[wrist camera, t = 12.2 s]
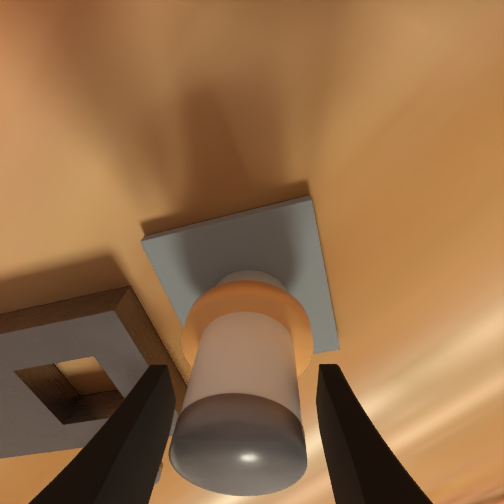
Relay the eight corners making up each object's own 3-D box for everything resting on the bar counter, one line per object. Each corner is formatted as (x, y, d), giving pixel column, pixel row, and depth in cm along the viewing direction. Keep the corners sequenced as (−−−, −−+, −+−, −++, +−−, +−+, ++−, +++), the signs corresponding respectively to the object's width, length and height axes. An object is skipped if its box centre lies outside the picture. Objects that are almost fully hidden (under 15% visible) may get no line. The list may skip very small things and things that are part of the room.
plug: (174, 302, 16) (107, 457, 9) (247, 233, 14) (229, 369, 7) (252, 357, 18) (242, 522, 11) (328, 303, 15) (373, 467, 9)
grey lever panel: (-157, 349, 19) (-201, 377, 17) (130, 285, 16) (113, 311, 14) (-44, 439, 24) (-70, 469, 22) (196, 403, 21) (189, 434, 19)
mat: (144, 235, 15) (140, 241, 14) (309, 195, 13) (311, 199, 13) (206, 363, 19) (205, 371, 18) (337, 341, 18) (340, 349, 17)
